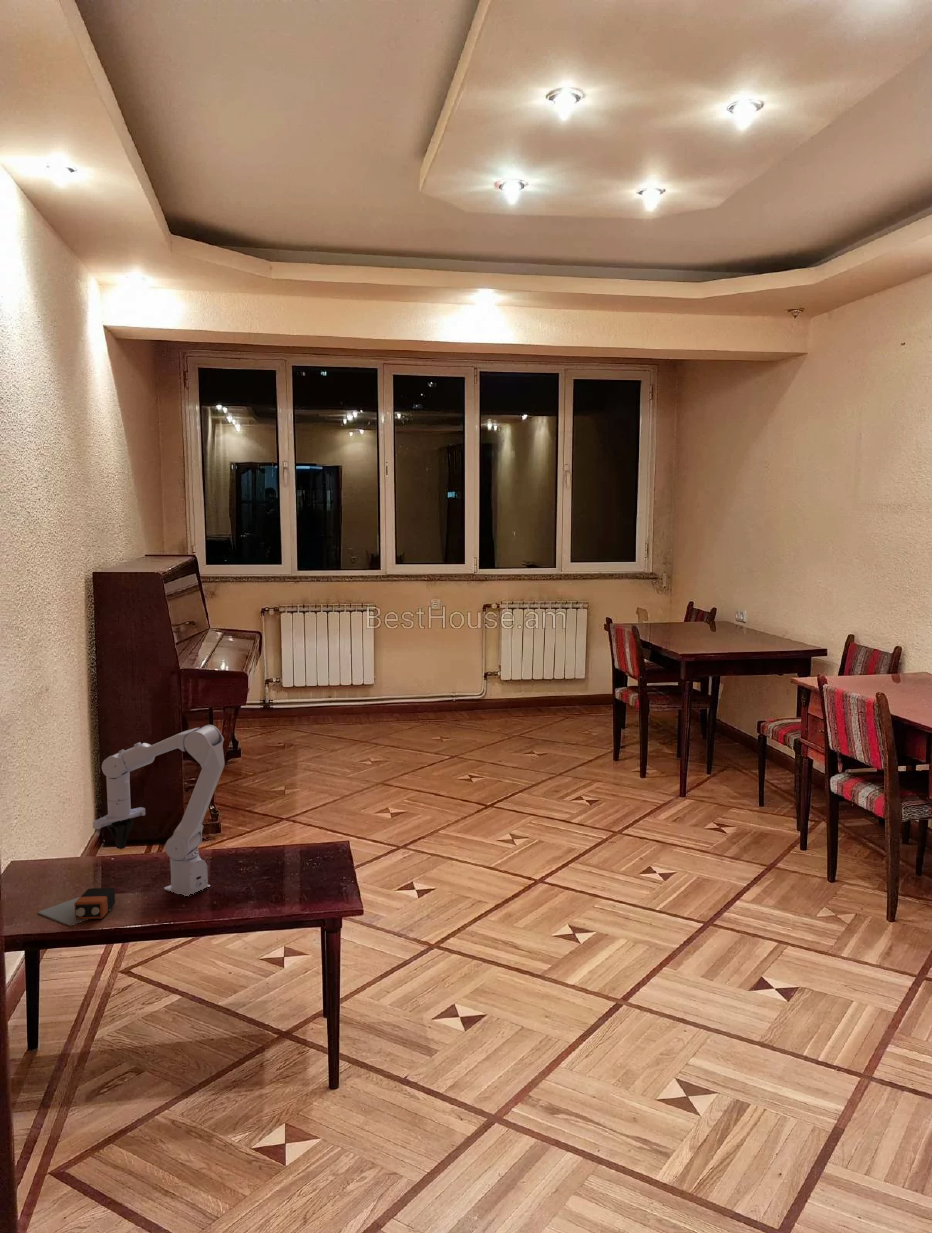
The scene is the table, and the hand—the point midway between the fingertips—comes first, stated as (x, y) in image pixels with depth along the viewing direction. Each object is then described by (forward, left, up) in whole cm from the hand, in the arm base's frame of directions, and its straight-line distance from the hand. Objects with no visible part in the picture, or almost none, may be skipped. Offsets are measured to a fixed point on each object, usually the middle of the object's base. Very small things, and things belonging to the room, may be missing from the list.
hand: (120, 847), depth 232 cm
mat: (-5, +17, -10) cm, 21 cm away
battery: (-7, +11, -8) cm, 15 cm away
